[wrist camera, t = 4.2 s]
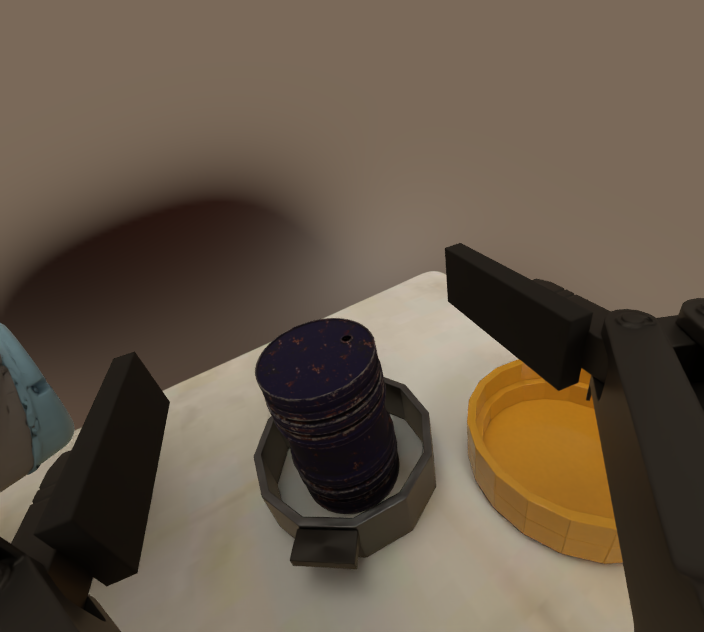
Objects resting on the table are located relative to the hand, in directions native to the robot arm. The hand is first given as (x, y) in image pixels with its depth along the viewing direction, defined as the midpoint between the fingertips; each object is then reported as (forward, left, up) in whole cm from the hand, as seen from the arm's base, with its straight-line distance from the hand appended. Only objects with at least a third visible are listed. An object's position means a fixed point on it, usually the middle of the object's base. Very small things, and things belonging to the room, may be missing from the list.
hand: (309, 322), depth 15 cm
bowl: (+16, -9, -24) cm, 30 cm away
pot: (+6, +8, -24) cm, 26 cm away
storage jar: (+6, +8, -24) cm, 26 cm away
